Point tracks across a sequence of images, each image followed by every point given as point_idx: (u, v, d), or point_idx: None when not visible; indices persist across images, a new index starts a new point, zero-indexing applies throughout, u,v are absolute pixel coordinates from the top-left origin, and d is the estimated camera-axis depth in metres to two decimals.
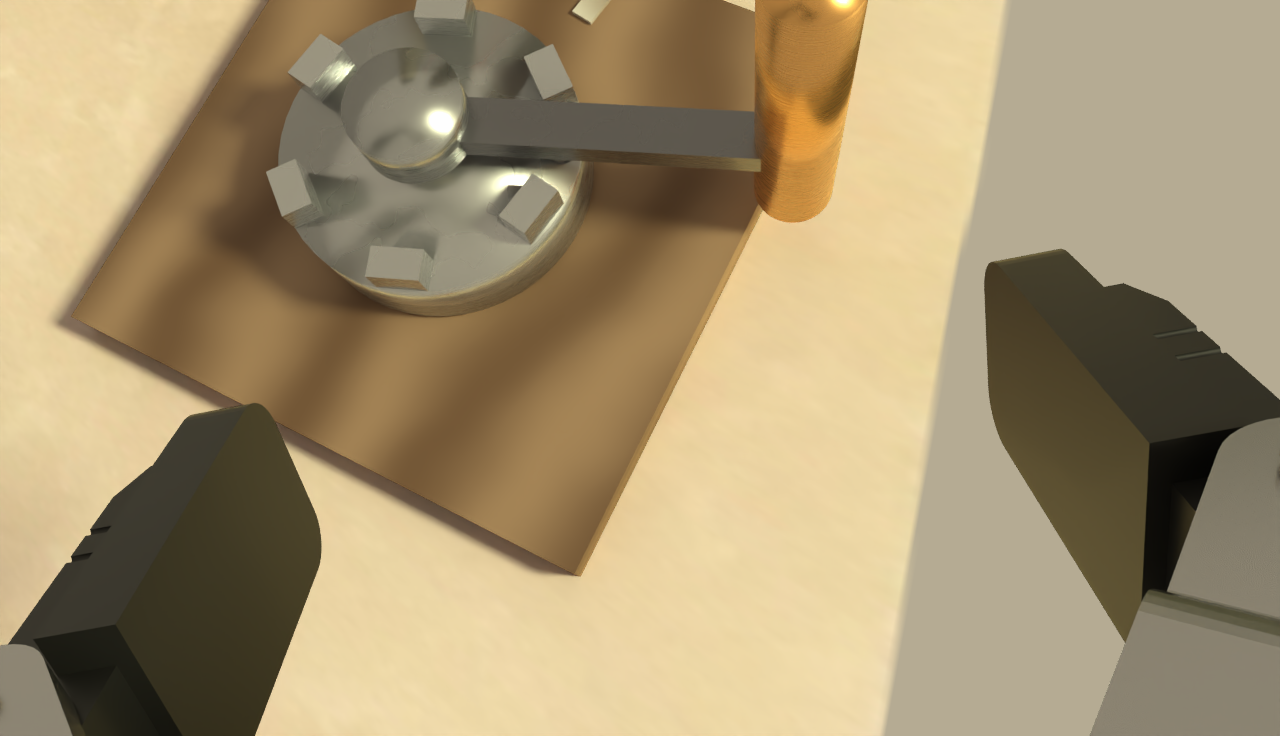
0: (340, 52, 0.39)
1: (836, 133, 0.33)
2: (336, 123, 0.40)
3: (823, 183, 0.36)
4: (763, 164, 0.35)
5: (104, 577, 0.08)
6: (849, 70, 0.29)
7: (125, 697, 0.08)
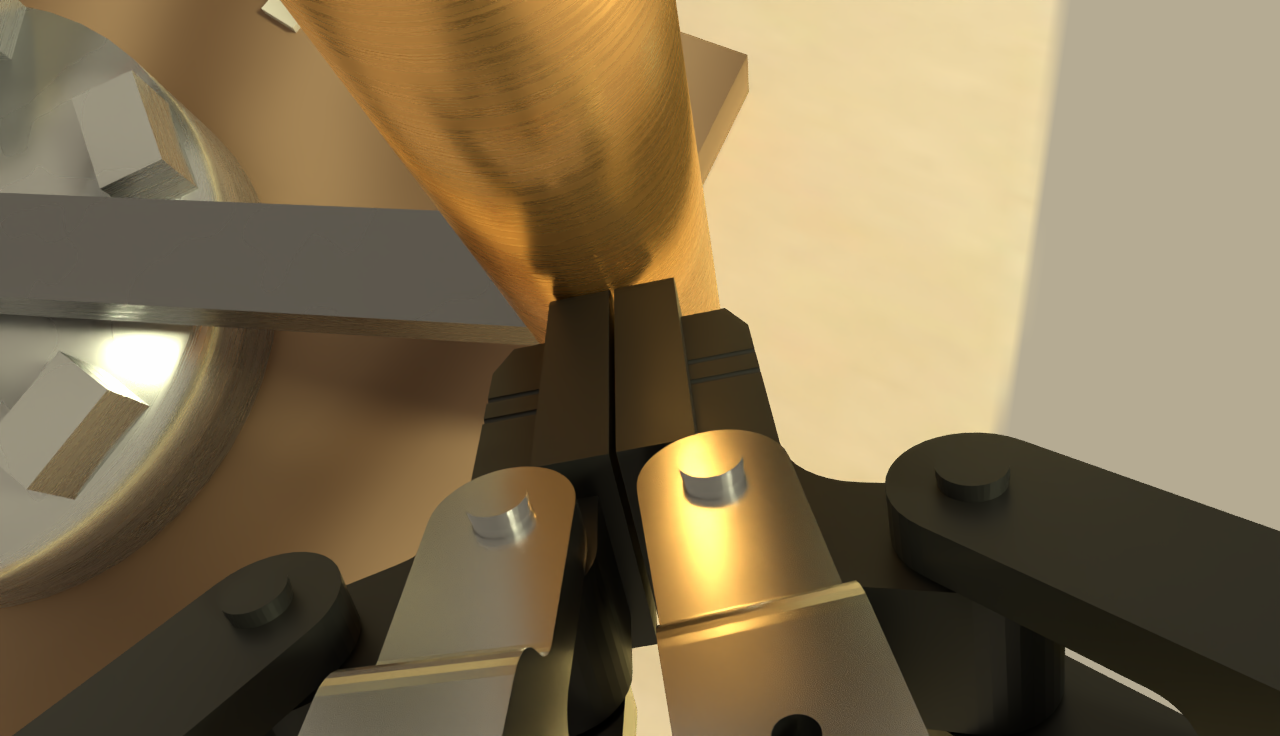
0: None
1: (676, 284, 0.13)
2: None
3: None
4: (534, 338, 0.15)
5: (566, 421, 0.09)
6: (649, 136, 0.09)
7: (605, 525, 0.09)
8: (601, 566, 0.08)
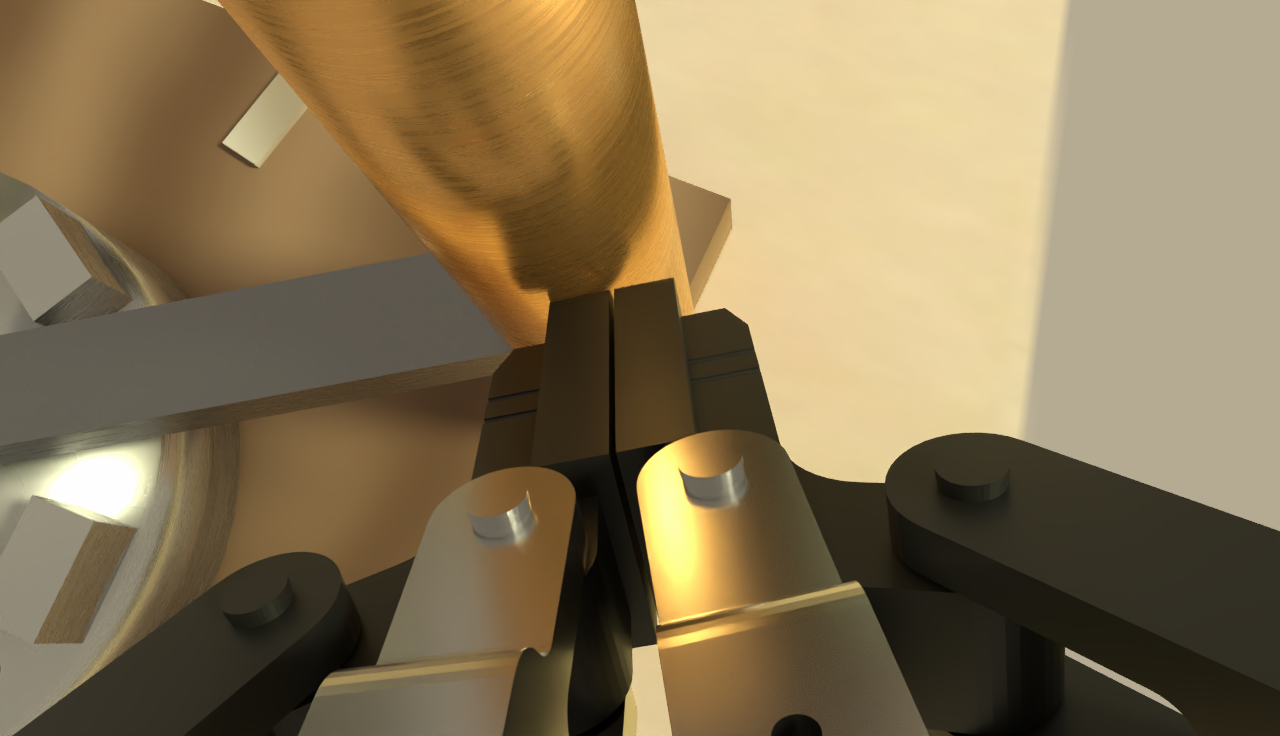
0: None
1: (661, 269, 0.13)
2: None
3: None
4: None
5: (567, 421, 0.09)
6: (631, 116, 0.09)
7: (605, 525, 0.09)
8: (601, 566, 0.08)
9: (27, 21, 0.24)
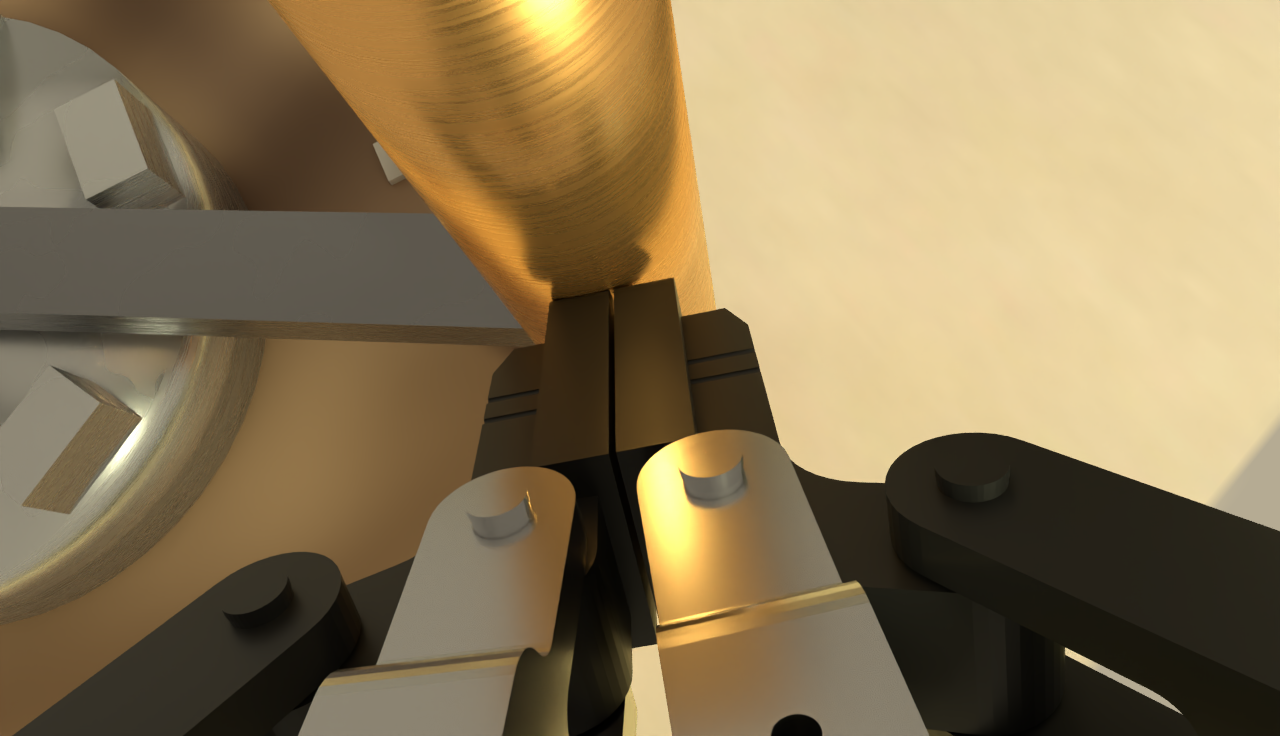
0: None
1: None
2: None
3: None
4: (531, 339, 0.15)
5: (566, 421, 0.09)
6: (646, 134, 0.09)
7: (605, 525, 0.09)
8: (601, 566, 0.08)
9: None
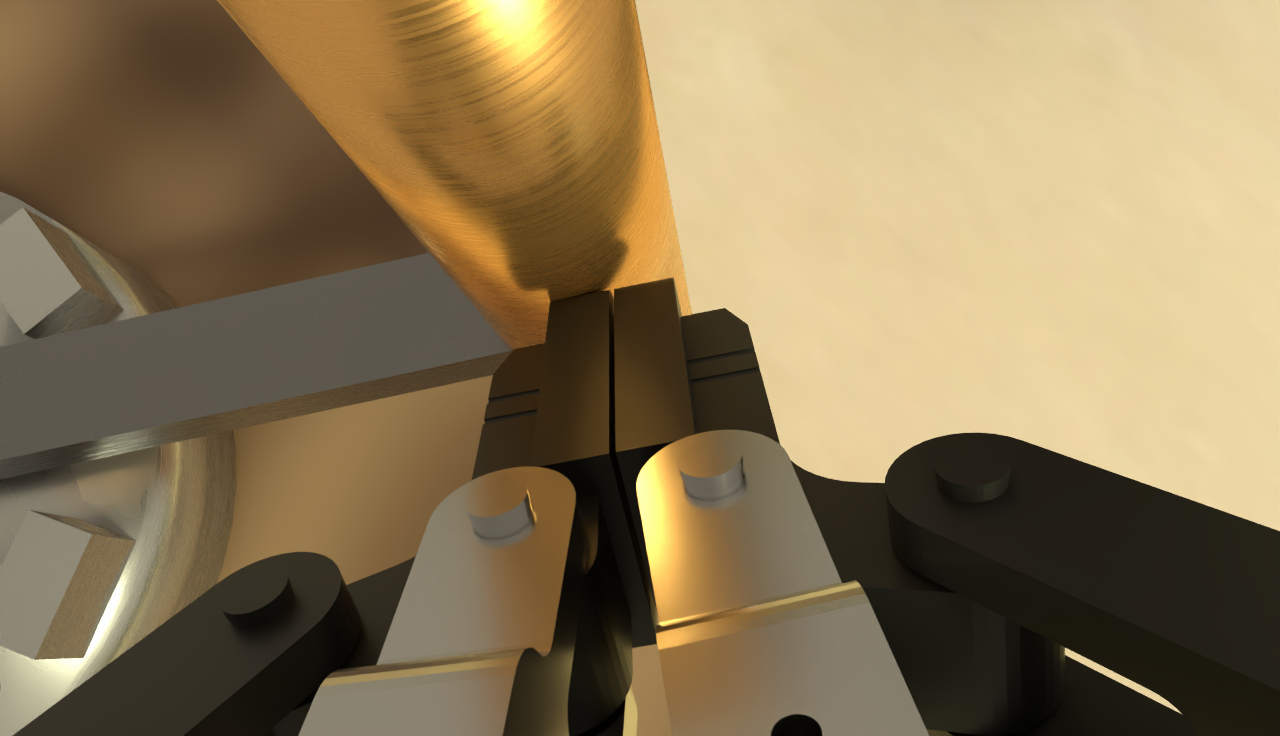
0: None
1: (661, 263, 0.13)
2: None
3: None
4: None
5: (567, 421, 0.09)
6: (632, 109, 0.09)
7: (605, 525, 0.09)
8: (601, 566, 0.08)
9: (244, 60, 0.23)
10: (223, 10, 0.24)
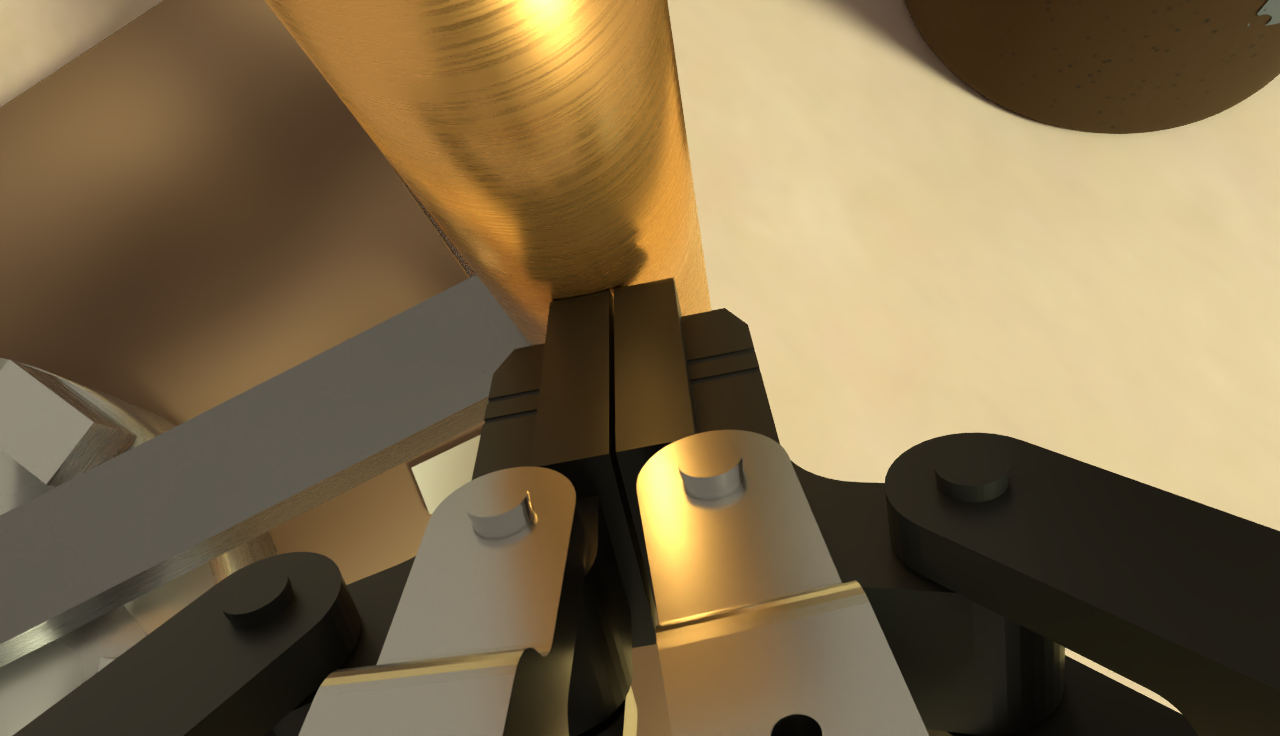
0: None
1: (694, 228, 0.13)
2: None
3: None
4: None
5: (567, 421, 0.09)
6: (671, 61, 0.09)
7: (606, 525, 0.09)
8: (602, 566, 0.08)
9: (302, 206, 0.22)
10: (280, 151, 0.23)
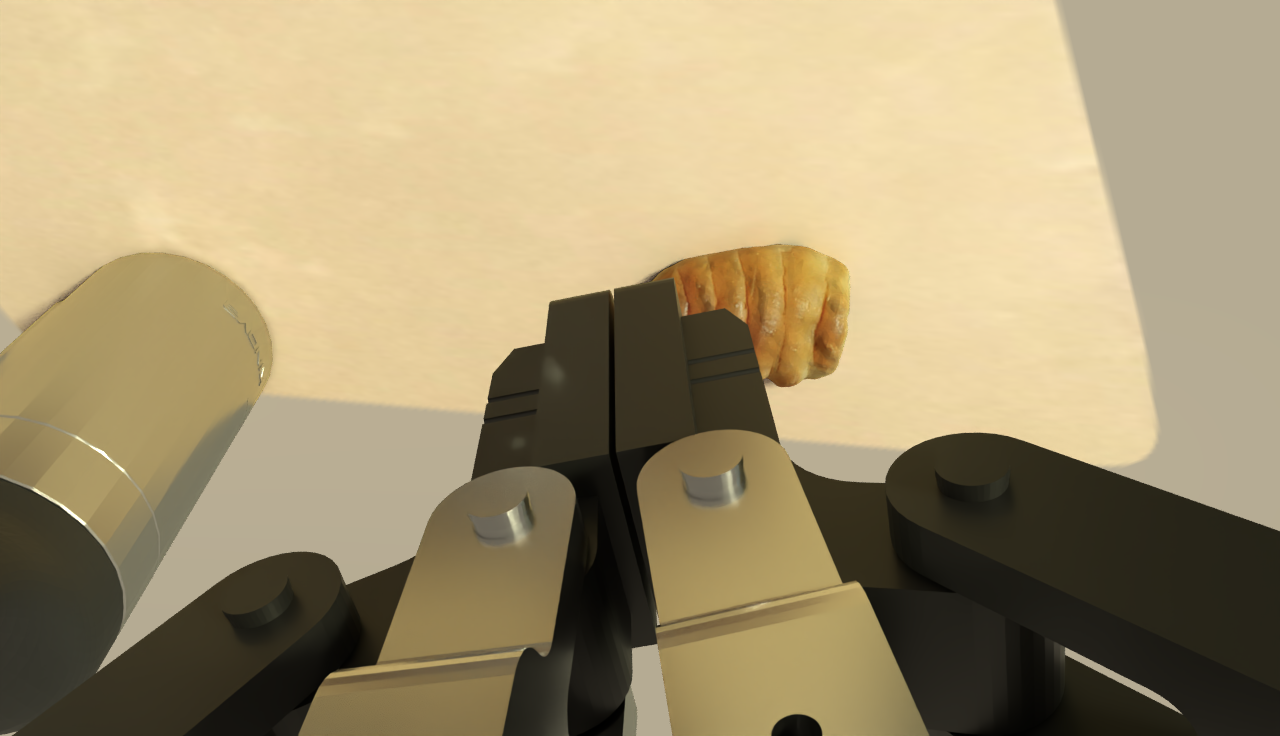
0: None
1: None
2: None
3: None
4: None
5: (566, 421, 0.09)
6: None
7: (605, 525, 0.09)
8: (601, 566, 0.08)
9: None
10: None
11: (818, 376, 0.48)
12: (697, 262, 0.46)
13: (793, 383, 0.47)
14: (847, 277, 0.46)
